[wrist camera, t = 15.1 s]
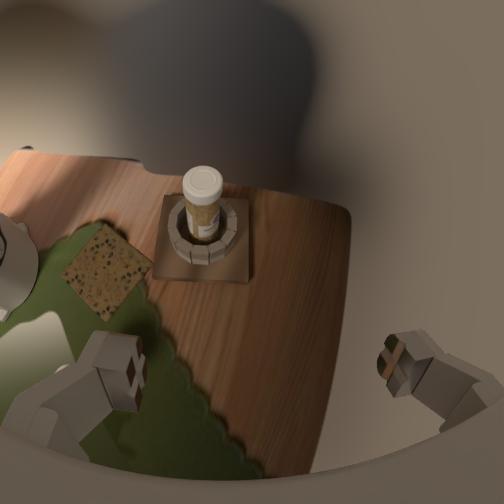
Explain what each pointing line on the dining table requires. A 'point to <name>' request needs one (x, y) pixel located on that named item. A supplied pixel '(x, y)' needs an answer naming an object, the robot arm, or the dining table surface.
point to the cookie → (106, 271)
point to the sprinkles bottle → (203, 203)
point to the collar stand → (203, 257)
